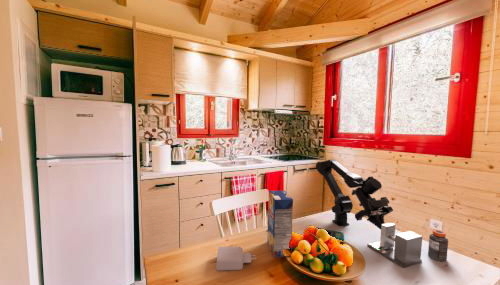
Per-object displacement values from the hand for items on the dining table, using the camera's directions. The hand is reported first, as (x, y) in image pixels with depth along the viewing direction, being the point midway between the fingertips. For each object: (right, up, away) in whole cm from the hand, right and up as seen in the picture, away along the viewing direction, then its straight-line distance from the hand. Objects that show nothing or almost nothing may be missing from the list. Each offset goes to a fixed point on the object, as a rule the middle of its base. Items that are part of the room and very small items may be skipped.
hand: (385, 231), depth 96 cm
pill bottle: (+18, -9, -5) cm, 21 cm away
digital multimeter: (-22, -7, +10) cm, 25 cm away
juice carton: (-47, -7, -1) cm, 48 cm away
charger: (-65, -8, -12) cm, 66 cm away
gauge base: (+1, -8, -3) cm, 9 cm away
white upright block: (0, -6, -2) cm, 7 cm away
